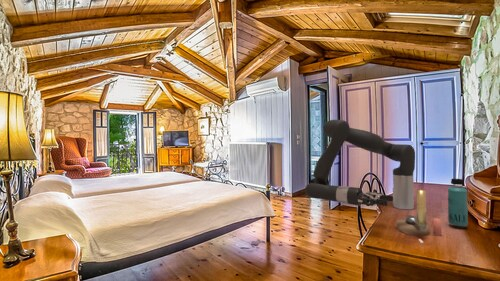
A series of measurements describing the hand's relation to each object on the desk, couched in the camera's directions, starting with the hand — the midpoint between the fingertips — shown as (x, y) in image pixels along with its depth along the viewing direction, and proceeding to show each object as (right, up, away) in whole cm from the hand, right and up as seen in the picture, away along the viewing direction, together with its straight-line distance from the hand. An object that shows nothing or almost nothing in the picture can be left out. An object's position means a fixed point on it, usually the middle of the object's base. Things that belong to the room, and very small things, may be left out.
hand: (390, 201), depth 100 cm
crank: (+9, -9, -2) cm, 13 cm away
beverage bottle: (+30, -12, +4) cm, 32 cm away
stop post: (+16, -12, -3) cm, 21 cm away
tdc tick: (+6, -13, -9) cm, 16 cm away
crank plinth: (+10, -12, +2) cm, 16 cm away
